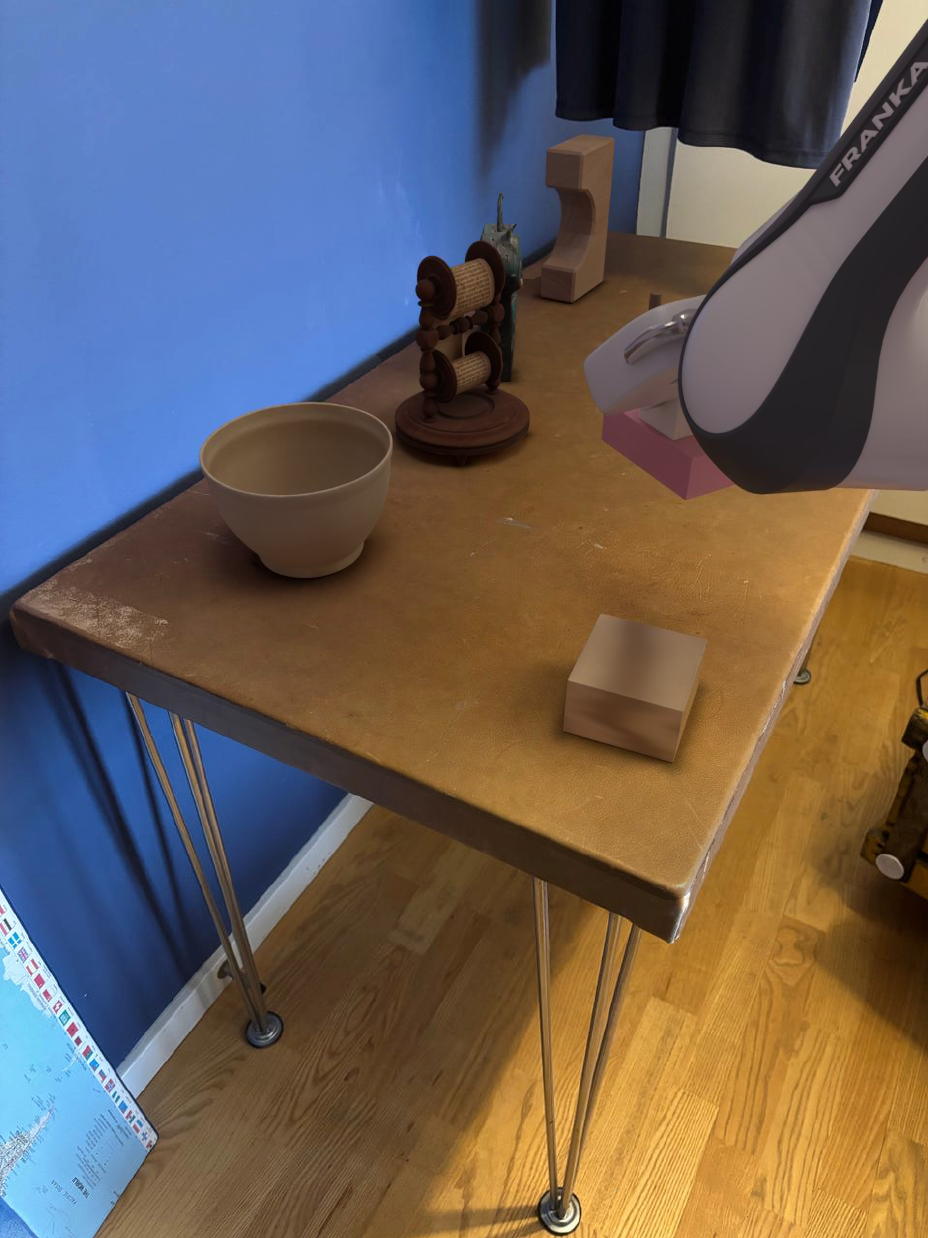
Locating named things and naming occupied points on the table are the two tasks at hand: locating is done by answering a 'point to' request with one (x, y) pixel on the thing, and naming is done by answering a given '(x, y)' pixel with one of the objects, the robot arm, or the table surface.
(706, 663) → the table surface
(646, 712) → the birch block
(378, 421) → the planter bowl
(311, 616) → the table surface
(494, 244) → the ceramic cat
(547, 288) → the decorative block
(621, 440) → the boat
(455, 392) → the scroll
